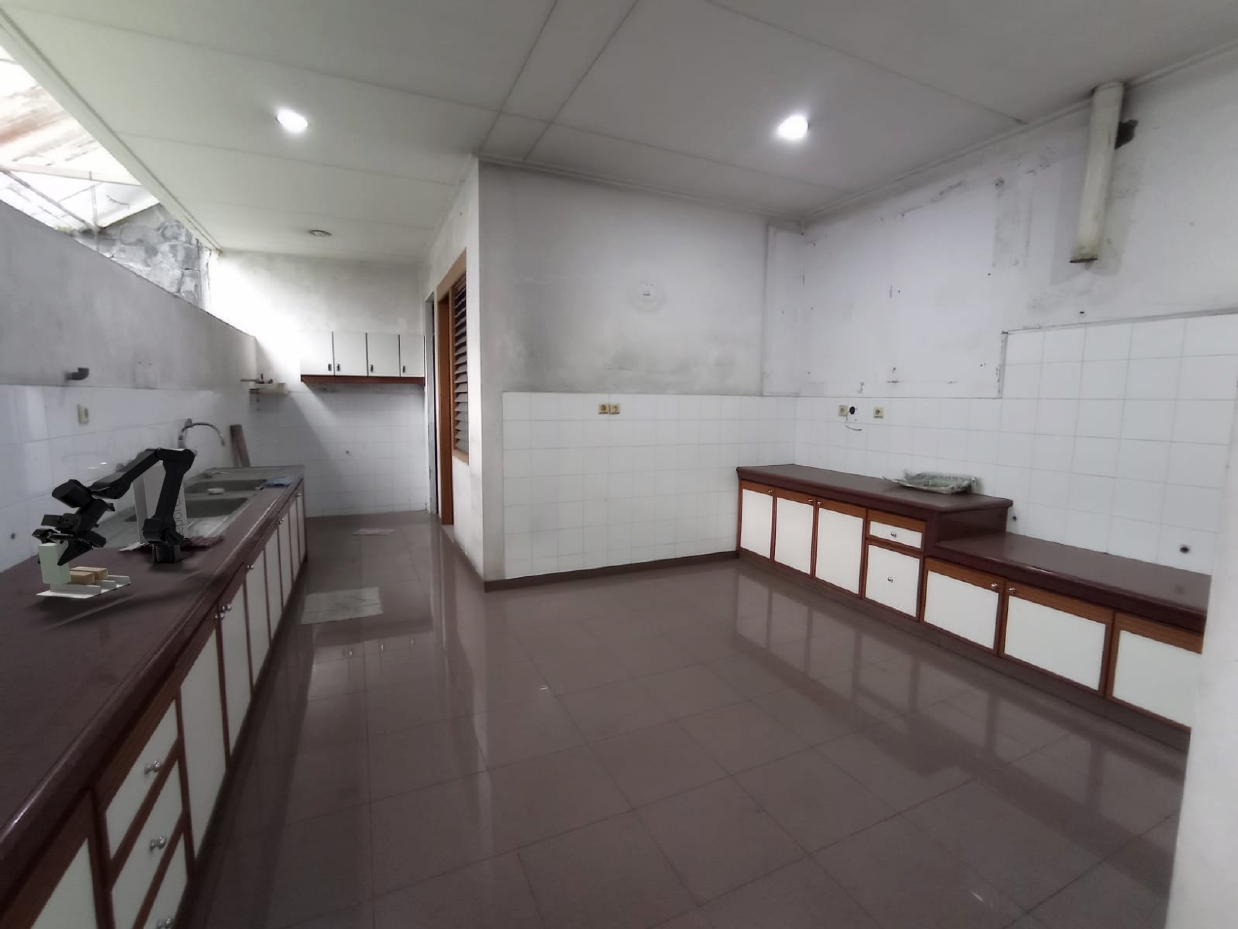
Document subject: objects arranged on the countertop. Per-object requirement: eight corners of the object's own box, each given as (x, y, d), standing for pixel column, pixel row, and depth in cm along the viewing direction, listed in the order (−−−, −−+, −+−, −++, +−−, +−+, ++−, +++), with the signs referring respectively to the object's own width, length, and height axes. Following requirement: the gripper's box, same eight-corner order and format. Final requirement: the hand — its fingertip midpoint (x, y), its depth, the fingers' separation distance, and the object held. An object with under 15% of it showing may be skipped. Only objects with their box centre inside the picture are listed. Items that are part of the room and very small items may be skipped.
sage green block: (53, 580, 159) (48, 542, 157) (71, 581, 158) (66, 543, 156) (43, 583, 156) (37, 545, 155) (61, 584, 155) (55, 546, 154)
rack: (85, 582, 169) (83, 573, 169) (131, 585, 167) (130, 576, 166) (36, 598, 157) (34, 587, 156) (85, 601, 154) (84, 591, 154)
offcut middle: (66, 585, 164) (64, 570, 163) (95, 587, 162) (93, 572, 162) (57, 588, 161) (55, 573, 161) (86, 590, 160) (84, 575, 159)
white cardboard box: (151, 548, 204) (142, 467, 200) (139, 547, 205) (130, 467, 201) (188, 538, 218) (181, 462, 214) (177, 537, 219) (169, 462, 215)
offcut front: (80, 581, 168) (78, 566, 167) (109, 583, 166) (107, 568, 165) (71, 583, 165) (69, 569, 164) (100, 586, 164) (98, 571, 163)
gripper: (34, 500, 159) (-8, 549, 150) (90, 503, 156) (50, 553, 147) (69, 520, 168) (31, 568, 159) (122, 523, 165) (86, 571, 156)
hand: (48, 564), depth 155 cm, fingers closed on sage green block, 6 cm apart
